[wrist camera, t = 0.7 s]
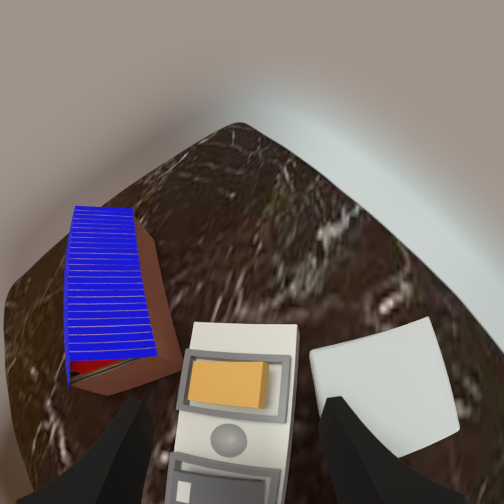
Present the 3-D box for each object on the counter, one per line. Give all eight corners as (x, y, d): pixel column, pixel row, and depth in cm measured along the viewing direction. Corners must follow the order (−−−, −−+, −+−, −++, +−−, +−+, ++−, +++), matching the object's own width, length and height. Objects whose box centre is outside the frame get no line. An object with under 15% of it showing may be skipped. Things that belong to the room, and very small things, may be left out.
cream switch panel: (278, 538, 15) (270, 555, 12) (180, 518, 18) (159, 529, 14) (299, 333, 27) (295, 319, 24) (205, 331, 30) (188, 317, 26)
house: (107, 399, 27) (32, 376, 18) (93, 272, 39) (44, 228, 30) (190, 370, 28) (123, 338, 18) (156, 238, 40) (112, 181, 30)
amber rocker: (264, 409, 19) (258, 408, 18) (195, 401, 22) (187, 399, 22) (269, 364, 21) (262, 361, 20) (200, 363, 24) (193, 360, 23)
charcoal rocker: (257, 514, 15) (258, 518, 14) (171, 503, 15) (169, 507, 14) (262, 479, 17) (263, 482, 16) (175, 468, 17) (172, 471, 16)
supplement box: (404, 430, 19) (463, 434, 9) (326, 452, 20) (328, 482, 10) (388, 359, 23) (431, 312, 13) (313, 380, 24) (305, 349, 14)
